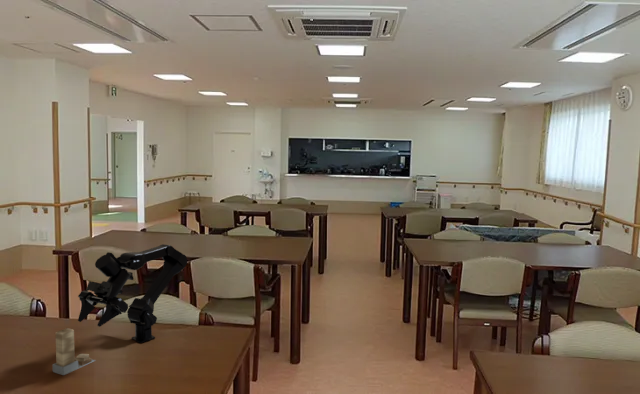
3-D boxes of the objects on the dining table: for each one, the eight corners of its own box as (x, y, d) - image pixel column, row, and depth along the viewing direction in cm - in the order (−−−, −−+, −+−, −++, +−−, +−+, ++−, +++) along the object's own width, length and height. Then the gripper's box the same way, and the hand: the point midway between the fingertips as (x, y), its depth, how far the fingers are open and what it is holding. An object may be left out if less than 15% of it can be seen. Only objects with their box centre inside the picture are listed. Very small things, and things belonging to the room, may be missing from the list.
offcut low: (83, 359, 162) (83, 355, 162) (91, 361, 160) (91, 358, 160) (73, 363, 159) (73, 359, 159) (82, 365, 157) (82, 362, 157)
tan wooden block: (68, 366, 156) (67, 327, 155) (74, 368, 155) (73, 329, 154) (56, 371, 153) (55, 332, 151) (63, 373, 151) (61, 334, 150)
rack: (85, 361, 163) (85, 350, 163) (95, 364, 161) (95, 353, 161) (52, 376, 153) (52, 364, 152) (63, 379, 150) (63, 367, 150)
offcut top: (80, 356, 161) (80, 353, 161) (89, 357, 161) (89, 354, 160) (75, 360, 158) (75, 357, 158) (84, 361, 158) (83, 357, 158)
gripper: (82, 268, 168) (53, 307, 159) (121, 275, 160) (93, 316, 151) (101, 284, 176) (75, 323, 167) (139, 292, 168) (114, 333, 159)
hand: (88, 323), depth 161 cm, fingers open, 9 cm apart
